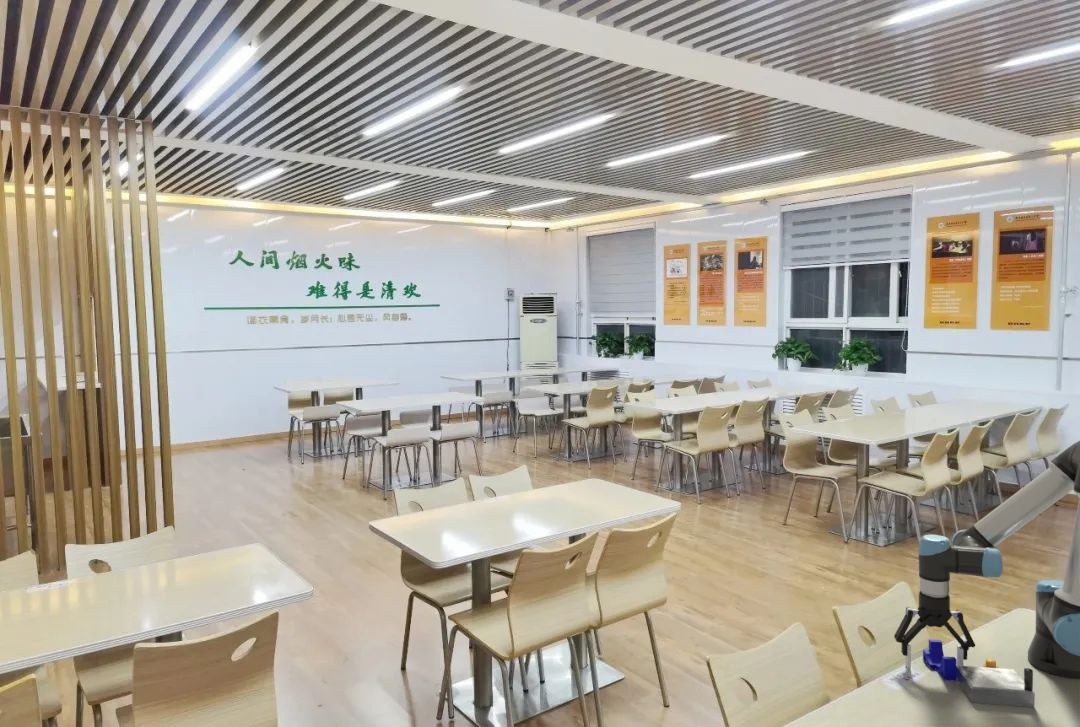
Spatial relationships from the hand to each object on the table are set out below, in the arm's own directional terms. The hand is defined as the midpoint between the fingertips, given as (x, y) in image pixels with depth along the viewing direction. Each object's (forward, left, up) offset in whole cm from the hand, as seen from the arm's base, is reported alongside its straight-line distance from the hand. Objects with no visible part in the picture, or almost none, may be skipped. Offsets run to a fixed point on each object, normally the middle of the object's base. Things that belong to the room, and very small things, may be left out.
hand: (933, 668), depth 201 cm
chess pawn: (-14, 0, 0) cm, 14 cm away
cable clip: (-1, 0, -1) cm, 1 cm away
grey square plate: (-11, +11, 0) cm, 16 cm away
